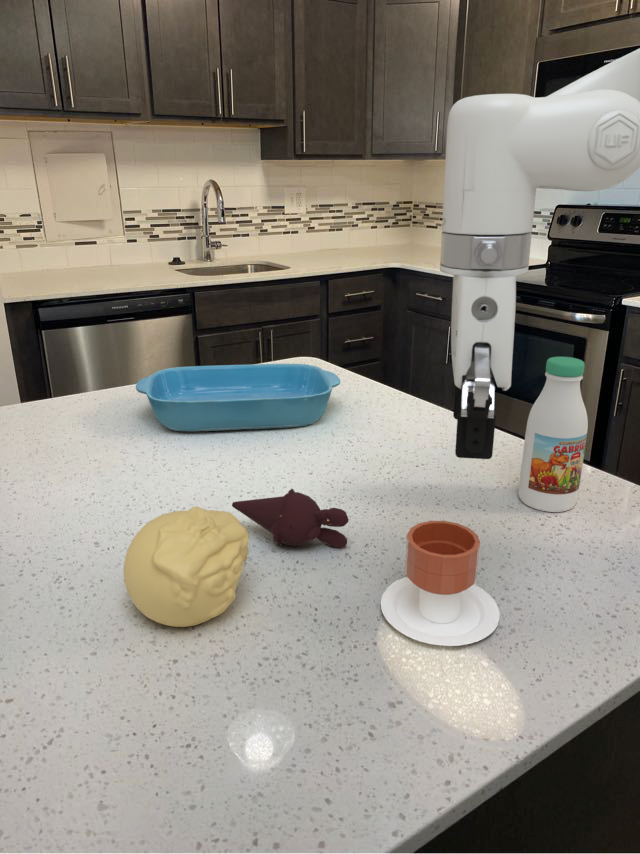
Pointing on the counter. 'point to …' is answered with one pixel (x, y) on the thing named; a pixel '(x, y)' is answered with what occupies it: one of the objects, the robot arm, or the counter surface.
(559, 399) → the milk bottle
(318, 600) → the counter surface
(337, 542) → the icecream
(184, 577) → the sculpture
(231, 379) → the casserole dish
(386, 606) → the candle holder
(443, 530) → the bowl
